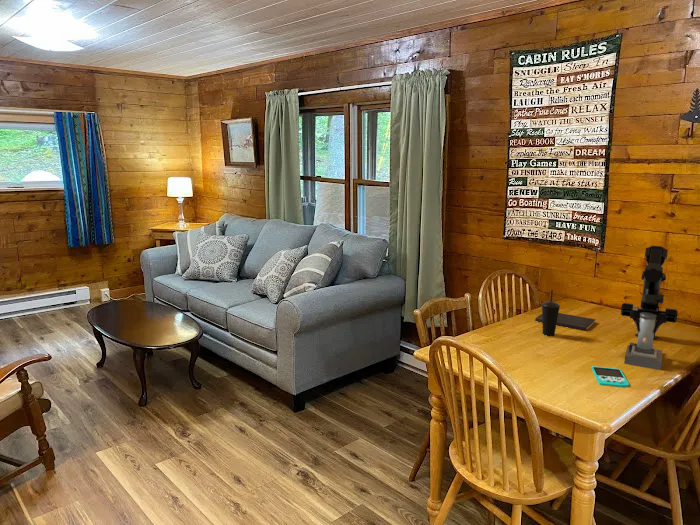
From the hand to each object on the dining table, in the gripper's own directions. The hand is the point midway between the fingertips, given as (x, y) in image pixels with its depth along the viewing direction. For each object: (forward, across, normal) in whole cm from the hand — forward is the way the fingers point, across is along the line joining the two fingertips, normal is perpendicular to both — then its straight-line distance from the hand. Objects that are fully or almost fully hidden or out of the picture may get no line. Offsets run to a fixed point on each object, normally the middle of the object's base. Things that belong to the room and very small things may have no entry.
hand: (646, 331), depth 201 cm
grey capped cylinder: (+5, 0, +5) cm, 7 cm away
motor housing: (+5, 0, +12) cm, 13 cm away
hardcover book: (-18, -34, +37) cm, 53 cm away
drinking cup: (-2, -37, +20) cm, 42 cm away
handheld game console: (+25, -10, -6) cm, 27 cm away
